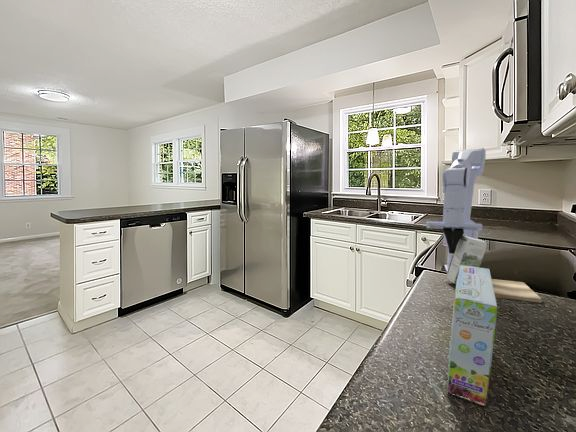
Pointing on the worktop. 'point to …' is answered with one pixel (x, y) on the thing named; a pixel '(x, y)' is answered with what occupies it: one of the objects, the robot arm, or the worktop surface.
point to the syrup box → (466, 256)
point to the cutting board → (514, 291)
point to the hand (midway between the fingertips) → (451, 252)
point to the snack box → (472, 334)
